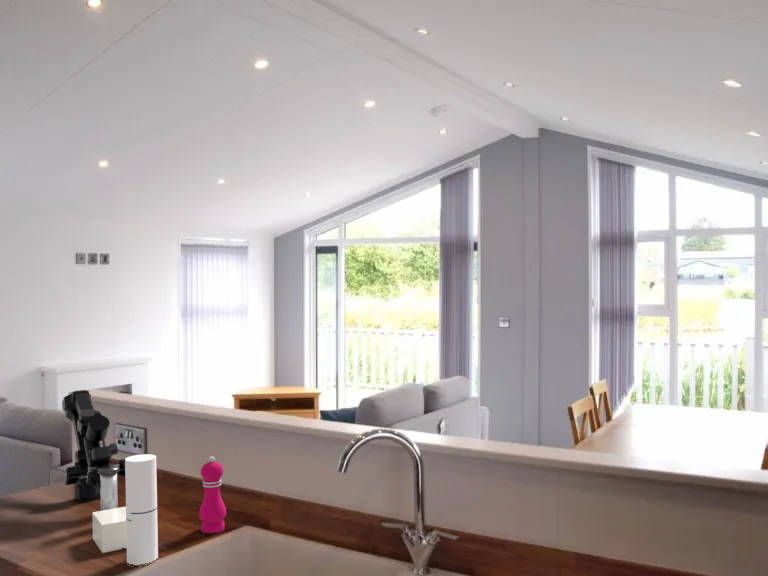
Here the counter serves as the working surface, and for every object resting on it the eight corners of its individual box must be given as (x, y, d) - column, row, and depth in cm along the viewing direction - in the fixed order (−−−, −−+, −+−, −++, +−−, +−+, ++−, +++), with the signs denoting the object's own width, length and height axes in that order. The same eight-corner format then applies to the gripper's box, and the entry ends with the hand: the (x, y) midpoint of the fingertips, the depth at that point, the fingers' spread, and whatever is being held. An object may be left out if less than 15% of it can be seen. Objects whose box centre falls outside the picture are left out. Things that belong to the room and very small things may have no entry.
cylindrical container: (148, 567, 166) (146, 462, 166) (120, 565, 168) (119, 461, 168) (163, 555, 173) (161, 454, 173) (137, 554, 175) (135, 453, 175)
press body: (92, 538, 186) (92, 512, 186) (139, 529, 192) (139, 504, 192) (102, 553, 176) (102, 525, 176) (151, 542, 182) (150, 515, 182)
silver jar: (96, 523, 197) (95, 467, 197) (117, 519, 200) (116, 464, 200) (108, 539, 185) (107, 479, 184) (130, 534, 188) (129, 475, 188)
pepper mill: (222, 534, 188) (221, 459, 188) (195, 534, 188) (194, 459, 188) (229, 524, 195) (228, 453, 195) (203, 525, 195) (202, 453, 195)
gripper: (65, 439, 200) (72, 486, 191) (132, 430, 210) (143, 475, 201) (61, 461, 207) (68, 508, 198) (126, 452, 217) (136, 496, 208)
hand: (104, 496), depth 201 cm, fingers closed
